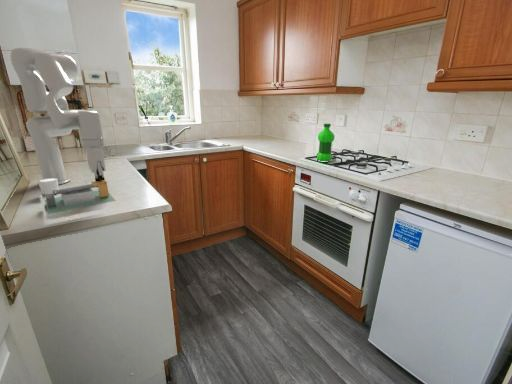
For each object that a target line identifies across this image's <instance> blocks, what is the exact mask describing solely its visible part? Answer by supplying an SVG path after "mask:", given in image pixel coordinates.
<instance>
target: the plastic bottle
mask: <svg viewBox="0 0 512 384" xmlns="http://www.w3.org/2000/svg"><path fill="white" fill-rule="evenodd" d="M331 125H332V124H331V123H323V127H324V129H323V130H321V131H320V132H319V133H318V135H317V140H318V141H319V146H318V153H317V155H316V159H317V160H318V161H319V160H320V161H329V162H330V161H331V160H332V159H333V155H332V145H333V142H334V141H335V134H334V133H333V131H331V130H330V128H331ZM320 161H319V162H320Z"/></svg>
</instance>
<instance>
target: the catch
mask: <svg viewBox="0 0 512 384" xmlns="http://www.w3.org/2000/svg"><path fill="white" fill-rule="evenodd" d="M90 184H92V185H93V186H97V185H98V188H97V191H99V196H100V197H106V196H109V194H110V192H109V189H108V182H107V180H101V181H91V183H90ZM108 192H109V193H108Z"/></svg>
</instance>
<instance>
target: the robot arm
mask: <svg viewBox="0 0 512 384" xmlns="http://www.w3.org/2000/svg"><path fill="white" fill-rule="evenodd" d="M10 62H11V65H12V67H13V70H14V71H15V74H17V77H18V79H19V82H20V85H21V89H22V94H23V98H24V104H25V106H26V108H27V110H28V111H29V112H30V113H32V114H48V115H46V116H45V115H43V116H33V117H30V118H29V119H27V120H26V124H25V125H26V126H25V127H26V129H27V132H28V133H29V136H30V139H31V141H32V143H33V146H34V152H35V155H36V159H37V163H38V167H39V171H40V174H41V180H42V179H47V178H57V180H58V186H59V185H63V184H67V183H69V182H70V181H71V177H67V175H66V170H65V166H64V161H63V158H62V153H61V150H60V146H59V144H58V143H57V142H56V141H55V140H54V139H52V138H55V137H64V136H69V135H71V134H72V131H73V130H79V133H80V138H81V143H82V148H84V149H85V154H86V160H87V166H88V169H89V171H90V172H91V173H93V175H94V180H95V181H101V180H105V176H104V172H105V171H106V164H105V156H104V152H103V147H105V141H104V135H103V130H102V124H101V119H100V114H99V112H98V111H96V110H88V109H69V103H68V101H67V98H66V96H68V95H70V94H71V93H72V92H73V90H74V85H73V83H72V82H71V80H70V78H71V77H75V76H76V75H78V71H79V69H78V65H77V63H76V61H75V59H73V58H72V57H71V56H70V55H69V54H64V53H61V52H57V51H52V50H46V49H45V50H44V49H38V48H29V47H16V48H13V49H12V50H11V51H10ZM69 77H70V78H69ZM46 88H47V89H46ZM47 90H49V91H47ZM96 188H97V189H98V185H97V187H96Z"/></svg>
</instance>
